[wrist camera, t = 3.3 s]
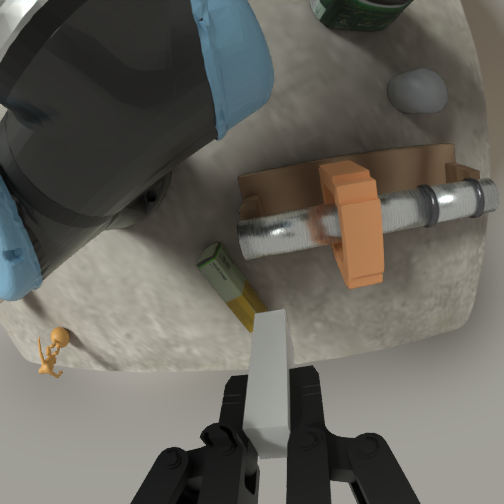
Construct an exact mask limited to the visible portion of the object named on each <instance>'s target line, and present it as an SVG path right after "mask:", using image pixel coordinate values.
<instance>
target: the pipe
mask: <svg viewBox="0 0 504 504" xmlns="http://www.w3.org/2000/svg"><path fill="white" fill-rule="evenodd" d="M377 196H378V198H379V199H380V205H381V216H382V230H383V234H385V233H390V232H395V231H400V230H405V229H410V228H415V227H420V226H424V227H426V228H428V227H433V226H435V225H436V224H437V223H440V222H445V221H450V220H454V219H459V218H464V217H470V218H476V217H479V216H481V215H482V214H483V213H488V212H493V211H495V210H496V209H497V207H498V204H499V193H498V189H497V187H496V185H495V183H494V182H493V181H492V180H491V179H489V178H483V179H474V178H465V179H463V180H462V181H460V182H453V183H446V184H440V185H433V186H429V185H428V184H422V185H418V186H417V188H414V189H407V190H401V191H395V192H389V193H383V194H377ZM237 229H238V238H239V243H240V247H241V251H242V254H243V256H244V258H245V260H252V259H257V258H262V257H267V256H272V255H278V254H283V253H288V252H293V251H298V250H304V249H309V248H314V247H319V246H324V245H329V244H335V243H340V242H342V238H341V230H340V223H339V216H338V209H337V206H336V204H335V202H333V203H327V204H322V205H317V206H311V207H306V208H301V209H296V210H291V211H286V212H281V213H276V214H271V215H266V216H262V217H257V218H252V219H247V220H243V221H239V222H238V225H237Z"/></svg>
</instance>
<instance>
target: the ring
mask: <svg viewBox="0 0 504 504" xmlns="http://www.w3.org/2000/svg"><path fill="white" fill-rule="evenodd" d="M319 166H320V168H318V169H319V174H320V183H321V188H322V194H323V200H324V204H327V203H333V202H335V204H336V206H337V209H338V216H339V223H340V230H341V238H342V242H340V243H335V244H331V247H332V249H333V252H334V257H335V259H336V262H337V264H338V267H339V269H340V272H341V274H342V277H343V279H344V282H345V284H346V286H348V288H349V289H353V288H358V287H362V286H367V285H371V284H376V283H380V282H383V272H384V247H383V230H382V216H381V205H380V199H379V198H378V196H377V187H376V180H375V179H373V178H371V177H370V172H369V170H368V169H366V168H364V167H362V166H360V165H358V164H356V163H354V162H352V161H350V160H347V161H341V162H335V163H329V164H324V165H319Z"/></svg>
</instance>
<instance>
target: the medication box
mask: <svg viewBox="0 0 504 504" xmlns="http://www.w3.org/2000/svg"><path fill="white" fill-rule="evenodd" d="M196 266H197V267H198V269H199V270H200V271H201V273H202V274H203V275H204V276H205V278H206V279H207V280H208V282H209V283H210V284H211V285H212V287H213V288H214V289H215V290H216V292H217V293H218V294H219V295H220V297H221V298H222V299H223V300H224V302H225V303H226V304H227V305H228V307H229V308H230V309H231V310H232V312H233V313H234V314H235V315H236V316H237V318H238V319H239V320H240V321H241V323H242V324H243V325H244V326H245V327H246V329H247V330H248V331H249V332H253V327H254V317H255V314H256V313H263V312H267V307H266V306H265V304H264V303H263V302H262V300H261V299H260V298H259V296H258V295H257V293H256V292H255V291H254V289H253V288H252V286H251V285H250V284H249V282H248V281H247V280H246V278H245V277H244V275H243V274H242V273H241V271H240V270H239V268H238V267H237V266H236V264H235V263H234V261H233V260H232V259H231V257H230V256H229V254H228V253H227V252H226V250H225V249H224V247H223V246H222V245H221V244H220V242H217V243H215V244H212V245H210V246H209V247H208V248H206V249H205V250H204V251H203V253H202V255H201V257H200V259H199V261H198V262H197V264H196Z"/></svg>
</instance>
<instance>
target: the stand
mask: <svg viewBox="0 0 504 504" xmlns="http://www.w3.org/2000/svg"><path fill="white" fill-rule="evenodd" d="M347 160H350V161H352V162H354V163H356V164H358V165H360V166H362V167H364V168H366V169H368V170H369V172H370V177H371V178H373V179H375V180H376V187H377V194H383V193H389V192H395V191H401V190H407V189H414V188H417V186H418V185H422V184H428V185H429V186H433V185H440V184H446V183H453V182H460V181H462V180H463V179H465V178H474V179H480V171H478V170H475V169H472V168H470V167H467V166H464V165H461V164H458V163H455V151H454V144H451V143H444V144H432V145H421V146H411V147H402V148H394V149H386V150H378V151H371V152H364V153H357V154H351V155H344V156H338V157H332V158H326V159H321V160H315V161H310V162H304V163H299V164H294V165H289V166H284V167H279V168H274V169H270V170H265V171H260V172H256V173H252V174H247V175H243V176H239V177H238V182H239V186H240V190H241V194H242V197H243V203H242V205H241V208H240V211H239V214H240V218H241V221H243V220H247V219H252V218H257V217H262V216H266V215H271V214H276V213H281V212H286V211H291V210H296V209H301V208H306V207H311V206H317V205H322V204H324V200H323V194H322V188H321V183H320V174H319V169H318V168H320V166H319V165H324V164H329V163H335V162H341V161H347Z"/></svg>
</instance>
